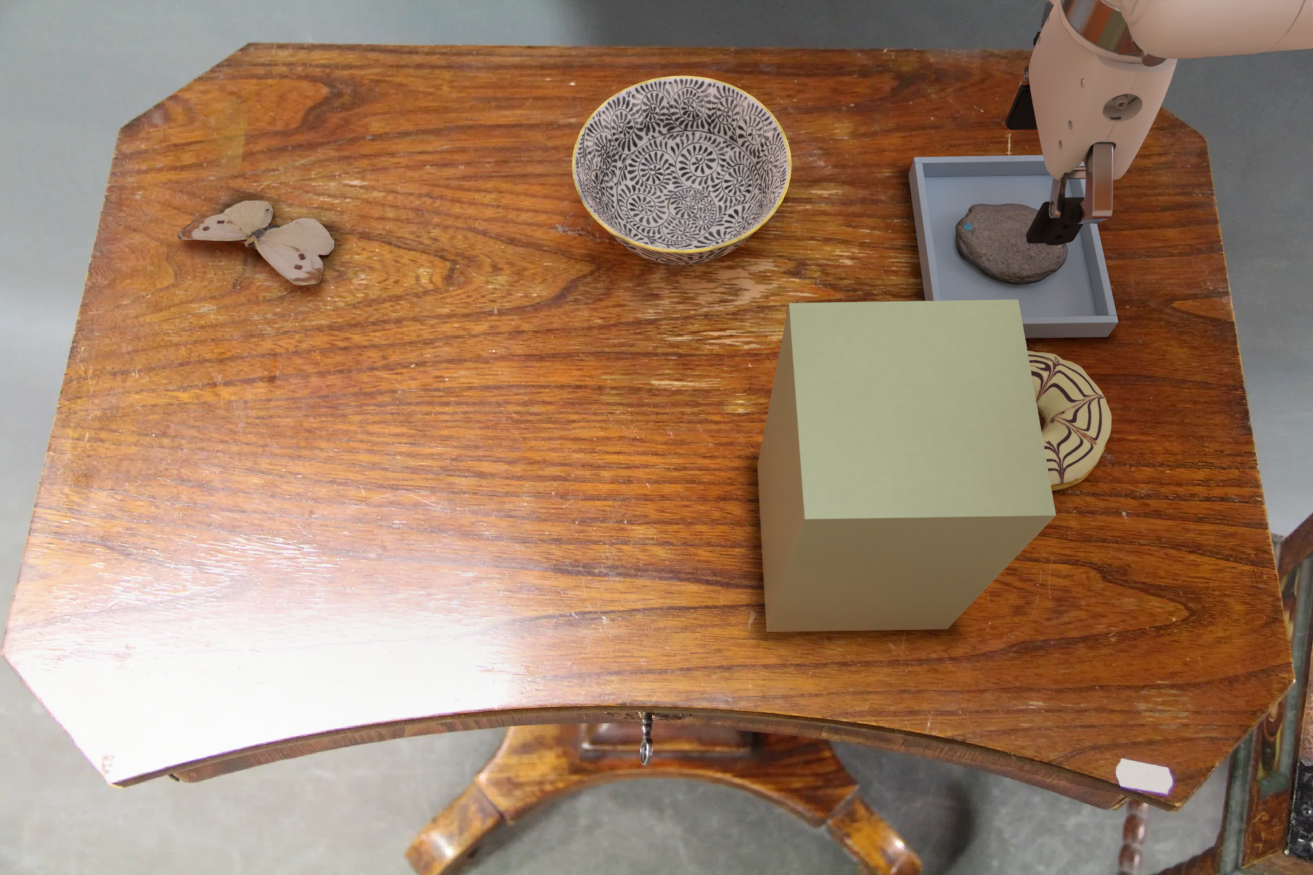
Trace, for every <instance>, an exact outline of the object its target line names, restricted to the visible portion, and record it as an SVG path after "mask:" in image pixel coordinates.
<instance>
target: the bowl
mask: <svg viewBox="0 0 1313 875" xmlns="http://www.w3.org/2000/svg"><path fill="white" fill-rule="evenodd" d="M788 140H789V139H788V137H787V135H786V133H785V131H784V129H783V127H782V126H781V124H780V122H779V120H778V119H777V118H776V117H775V115H774V114H773V113H772V112H771V111H770V109H769V108H767V107H766V106H765V105H764V104H763V103H762V102H761V101H760V100H758V99H757V98H756V97H754V96H753V95H751V94H749V93H748V92H746V91H745V90H743V89H742V88H739V87H737V86H736V85H735V86H734V85H733V84H729V83H727V82H725V81H721V80H717V79H714V78H709V77H703V76H696V75H695V76H694V75H670V76H663V77H655V78H650V79H647V80H644V81H640V82H638V83H635V84H633V85H629V87H626V88H624V89H622V90H621V91H619V92H617V93H615V94H613V95H612V96H611V97H609V98H607V100H605V101H604V102H603V103H601V105H599V106H598V107H597V108H596V109H595V110H594V111H593V113H591V115H589V117H588V118H587V119H586V121H585V122H584V124H583V125H582V127H581V129H580V131H579V133H578V135H577V138H576V140H575V143H574V147H573V151H572V158H571V173H572V181H573V184H574V188H575V191H576V193H577V196H578V197H579V199H580V202H581V203H582V205H583V207H584V209H586V211H587V213H588V214H589V215H590V217H591V218H593V220H594V221H595V222H597V224H599V225H600V226H601V227H602V228H603V229H605V230H606V231H607V232H608V233H609V235H610V236H611V237H612V238H613V239H614V240H616V242H618V243H619V244H620V245H622V246H623V247H624V248H625V249H626V250H628V251H630V252H632V253H634V254H635V255H636V256H640V258H643V259H646V260H649V261H651V262H655V263H658V264H663V265H668V266H669V265H670V266H692V265H700V264H705V263H707V262H711V261H715V260H717V259H720V258H722V257H724V256H726V255H728V254H730V253H731V252H733V251H734V250H736V249H738V248H739V247H740V246H742V245H743V244H744V243H746V241H748V240H749V239H750V238H751V237H752V236H753V235H754V233H755V232H757V231H758V230H759V229H761V228H762V227H763V226H764V225H765V224H766V223H767V222H768V221H769V220H770V219H771V218H772V217H773V216H774V214H775V213H776V212H777V210H778V209H779V207H780V206H781V205H782V202H783V201H784V199H785V197H786V196H787V192H788V190H789V186H790V181H791V177H792V168H793V164H792V163H793V162H792V153H791V149H790V148H791V147H790V145H789V141H788Z"/></svg>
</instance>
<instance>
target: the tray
mask: <svg viewBox="0 0 1313 875" xmlns="http://www.w3.org/2000/svg"><path fill="white" fill-rule="evenodd" d="M1084 161H1085V160H1083V162H1082V163H1081V164H1080V165H1079V166H1085V162H1084ZM1067 180H1068V181H1067V187H1066V194H1065V197H1084V195H1085V182H1086V179H1067ZM908 182H909V189H910V196H911V205H912V212H913V218H914V226H915V234H916V242H917V249H918V250H917V251H918V256H919V266H920V272H921V279H922V286H923V293H924V294H923V295H924V301H953V300H1016V299H1018V300H1019V306H1020V311H1021V317H1022V323H1023V329H1024V334H1025V339H1060V338H1061V339H1062V338H1063V339H1065V338H1108V337H1109V336H1110V334H1111V333H1112V331H1113V330H1114V328H1115V327H1116V326H1117V324H1118V323H1119V320H1118V316H1117V310H1116V305H1115V301H1114V296H1113V292H1112V287H1111V281H1110V277H1109V272H1108V268H1107V264H1106V259H1105V254H1104V250H1103V245H1102V240H1101V235H1100V231H1099V227H1098V224H1083V226H1082V228H1081V229H1080V231H1079V233H1078V234H1077V236H1076V237H1075V239H1074V240H1073V241H1072V242H1070V243H1066V244H1067V247H1068V253H1067V258H1066V261H1065V263H1064V264H1063V266H1062V267H1061V268H1060V269H1059V270H1057V271H1056V272H1055V273H1053V274H1051V275H1050V276H1048V277H1046V278H1045V279H1043V280H1041V281H1039V282H1036V283H1032V284H1024V285H1015V284H1009V283H1004V282H1000V281H996V280H994V279H992V278H990V277H988V276H986V275H984V274H983V273H982V272H981V271H980V270H979V269H978V268H977V267H975V266H974V265H973V264H971V263H969V262H967V261H966V260H965V259H963V258H962V257H961V256H960V255H959V253H958V250H957V248H956V230H955V227H956V224H957V223H958V222H959V221H960V220H961V219H962V218H964V217H965V215H966V214H967V213H968V209H969V208H970V207H971V206H972V205H976V204H989V205H1000V204H1007V203H1012V204H1022V205H1026V206H1029V207H1031V208H1035V209H1037V210H1039V209H1040V207H1041V205H1042V203H1044V202H1046V201H1050V195H1051V188H1052V182H1053V177H1052V176H1051V175H1050V173H1049V172H1048V171H1047V168H1046V166H1045V162H1044V158H1043V154H1027V155H1026V154H1023V155H1022V154H1020V155H966V156H965V155H964V156H963V155H962V156H961V155H960V156H959V155H957V156H956V155H955V156H914V157H913V159H912V163H911V166H910V169H909V171H908Z"/></svg>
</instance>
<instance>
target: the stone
mask: <svg viewBox="0 0 1313 875" xmlns="http://www.w3.org/2000/svg"><path fill="white" fill-rule="evenodd" d="M1038 211H1039V210H1037V209H1035V208H1031V207H1029V206H1026V205H1022V204H1012V203H1007V204H1000V205H989V204H976V205H972V206H971V207H970V208H969V209H968V213H967V214H966V215H965V217H964V218H962V219H961V220H960V221H959V222H958V223H957V224H956V227H955V230H956V248H957V250H958V253H959V255H960V256H961V257H962V258H963V259H965V260H966V261H967V262H969V263H971V264H973V265H974V266H975V267H977V268H978V269H979V270H980V271H981V272H982V273H983V274H984V275H986V276H988V277H990V278H992V279H994V280H996V281H1000V282H1004V283H1009V284H1015V285H1024V284H1032V283H1036V282H1039V281H1041V280H1043V279H1045V278H1046V277H1048V276H1050V275H1051V274H1053V273H1055V272H1056V271H1057V270H1059V269H1060V268H1061V267H1062V266H1063V264H1064V263H1065V261H1066V258H1067V253H1068V247H1067V244H1066V243H1065V244H1062V245H1046V244H1045V243H1041V244H1029V243H1027V239H1026V233H1027V232H1028V230H1029V228H1030V226H1031V224H1032V222H1033V220H1034V218H1035V217H1036V215H1037V213H1038Z"/></svg>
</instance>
